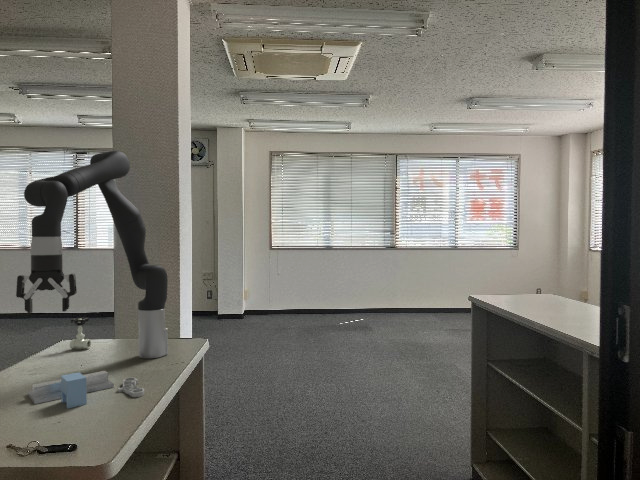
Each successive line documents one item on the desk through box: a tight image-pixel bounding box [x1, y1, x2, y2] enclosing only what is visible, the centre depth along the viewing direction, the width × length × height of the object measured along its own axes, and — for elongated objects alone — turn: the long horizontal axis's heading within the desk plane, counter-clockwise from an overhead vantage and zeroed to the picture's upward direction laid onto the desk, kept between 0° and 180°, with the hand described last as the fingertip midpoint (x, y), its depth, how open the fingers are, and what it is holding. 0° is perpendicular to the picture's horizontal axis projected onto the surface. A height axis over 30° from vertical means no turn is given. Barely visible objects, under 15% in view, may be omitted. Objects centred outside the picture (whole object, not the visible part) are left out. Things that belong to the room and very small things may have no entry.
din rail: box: [27, 370, 115, 405], centre depth 133 cm, size 20×10×4 cm, turn 131°
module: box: [60, 371, 88, 409], centre depth 123 cm, size 4×7×7 cm
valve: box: [69, 316, 92, 350], centre depth 181 cm, size 7×7×12 cm
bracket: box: [117, 376, 145, 398], centre depth 134 cm, size 8×2×15 cm
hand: (47, 312), depth 128 cm, fingers open, 8 cm apart
